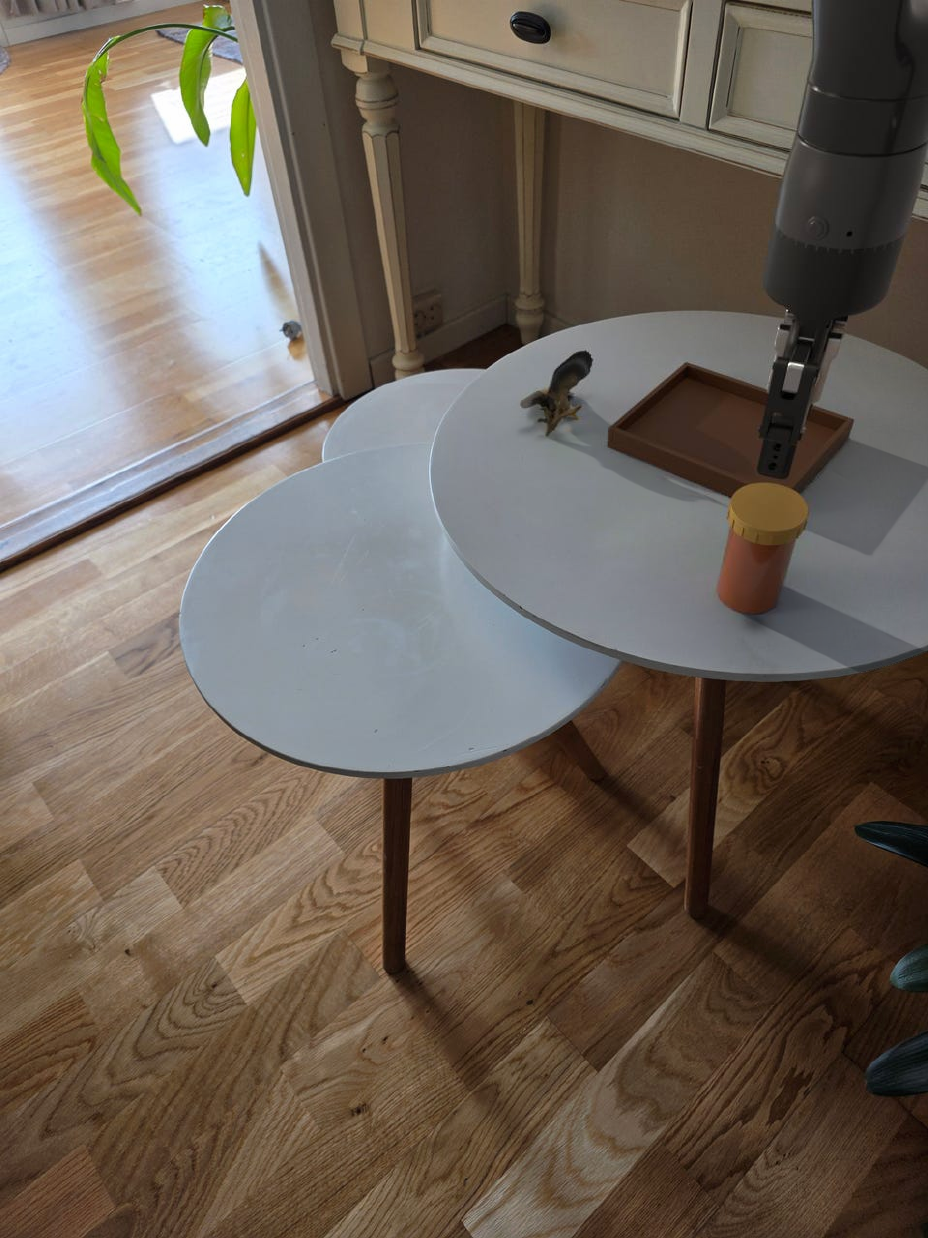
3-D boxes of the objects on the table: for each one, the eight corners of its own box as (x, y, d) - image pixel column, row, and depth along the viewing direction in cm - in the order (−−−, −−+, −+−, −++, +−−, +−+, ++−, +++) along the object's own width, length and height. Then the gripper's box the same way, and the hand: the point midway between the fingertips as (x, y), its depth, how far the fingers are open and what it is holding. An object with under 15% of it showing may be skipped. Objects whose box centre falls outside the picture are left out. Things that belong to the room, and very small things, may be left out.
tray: (848, 437, 89) (854, 418, 87) (778, 517, 81) (783, 498, 80) (683, 379, 98) (685, 361, 96) (606, 446, 90) (608, 427, 89)
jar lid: (818, 515, 69) (822, 500, 68) (783, 556, 66) (787, 542, 65) (749, 487, 72) (752, 472, 71) (713, 526, 69) (716, 511, 68)
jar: (790, 588, 75) (814, 506, 68) (761, 623, 73) (783, 542, 66) (735, 563, 78) (753, 481, 71) (705, 596, 75) (721, 515, 68)
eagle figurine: (601, 431, 90) (608, 371, 95) (564, 386, 86) (573, 325, 90) (541, 455, 95) (550, 397, 99) (502, 414, 91) (514, 354, 95)
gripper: (892, 279, 46) (818, 516, 58) (923, 175, 55) (853, 401, 67) (749, 259, 49) (707, 491, 61) (800, 162, 57) (754, 383, 69)
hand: (783, 443), depth 64 cm, fingers open, 7 cm apart
